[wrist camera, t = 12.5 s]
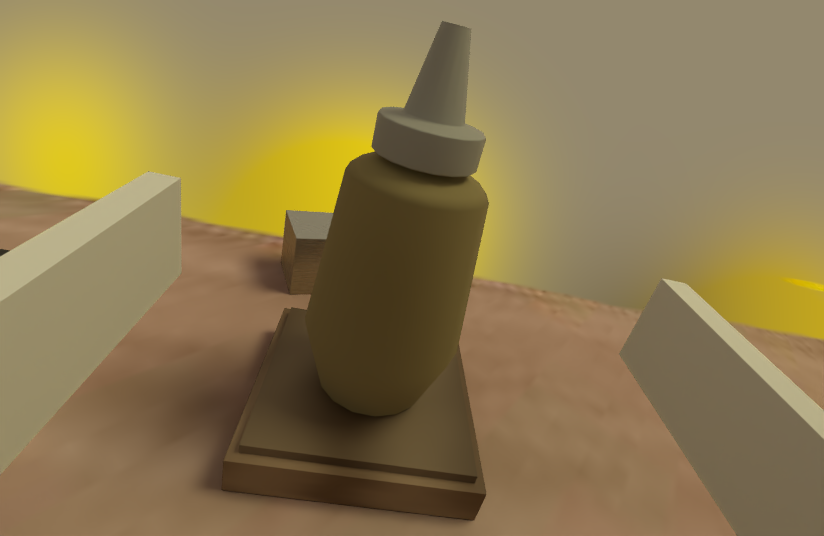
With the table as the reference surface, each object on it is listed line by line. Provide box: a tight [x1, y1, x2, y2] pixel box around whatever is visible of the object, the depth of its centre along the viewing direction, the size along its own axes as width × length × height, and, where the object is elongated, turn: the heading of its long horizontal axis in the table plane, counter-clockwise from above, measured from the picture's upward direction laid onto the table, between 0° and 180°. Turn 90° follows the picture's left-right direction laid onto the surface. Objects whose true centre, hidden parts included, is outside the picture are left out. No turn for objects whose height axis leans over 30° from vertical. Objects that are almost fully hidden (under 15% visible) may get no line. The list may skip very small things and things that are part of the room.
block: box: [281, 210, 333, 295], centre depth 37 cm, size 5×5×5 cm
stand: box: [222, 307, 486, 520], centre depth 26 cm, size 12×12×2 cm
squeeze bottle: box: [305, 21, 489, 417], centre depth 21 cm, size 8×8×18 cm
